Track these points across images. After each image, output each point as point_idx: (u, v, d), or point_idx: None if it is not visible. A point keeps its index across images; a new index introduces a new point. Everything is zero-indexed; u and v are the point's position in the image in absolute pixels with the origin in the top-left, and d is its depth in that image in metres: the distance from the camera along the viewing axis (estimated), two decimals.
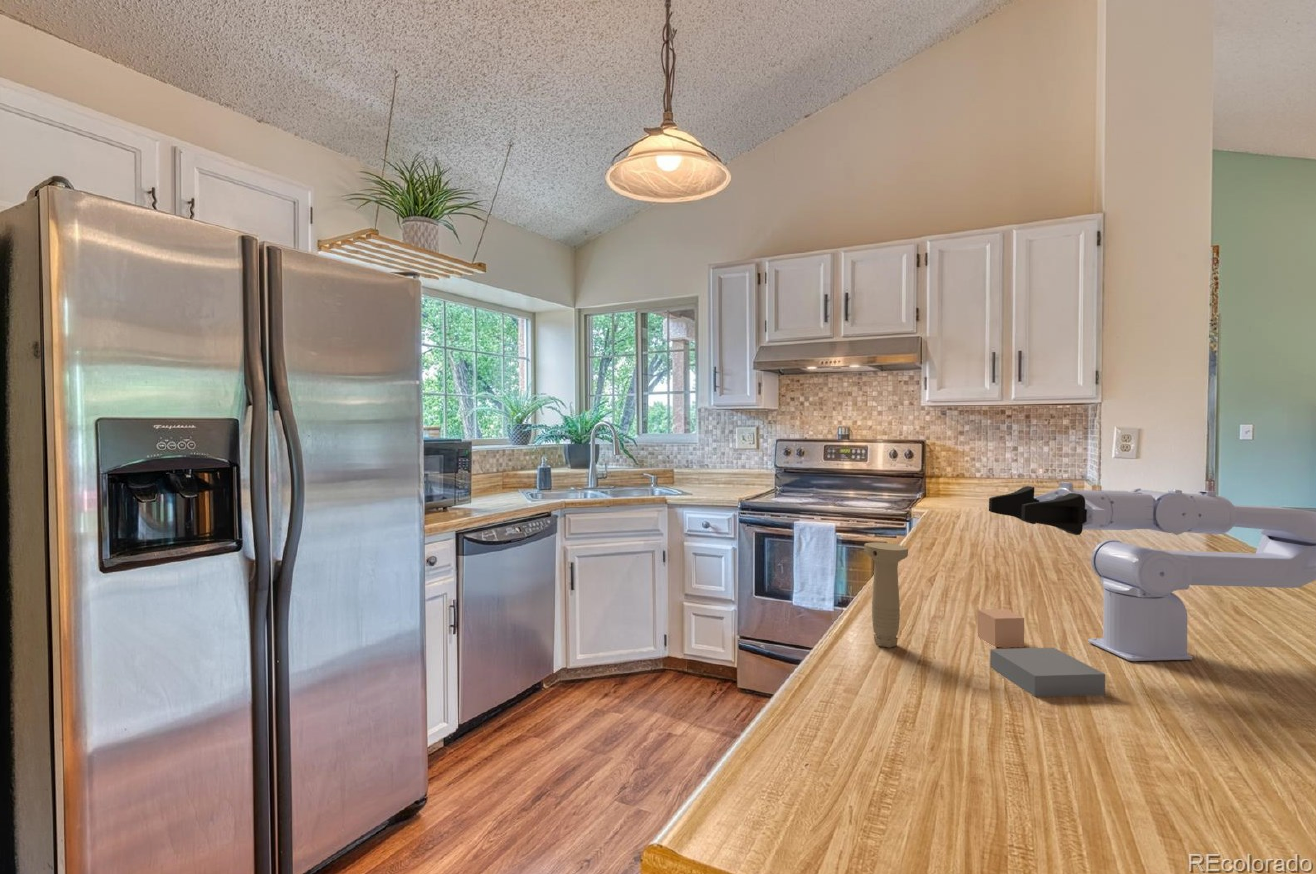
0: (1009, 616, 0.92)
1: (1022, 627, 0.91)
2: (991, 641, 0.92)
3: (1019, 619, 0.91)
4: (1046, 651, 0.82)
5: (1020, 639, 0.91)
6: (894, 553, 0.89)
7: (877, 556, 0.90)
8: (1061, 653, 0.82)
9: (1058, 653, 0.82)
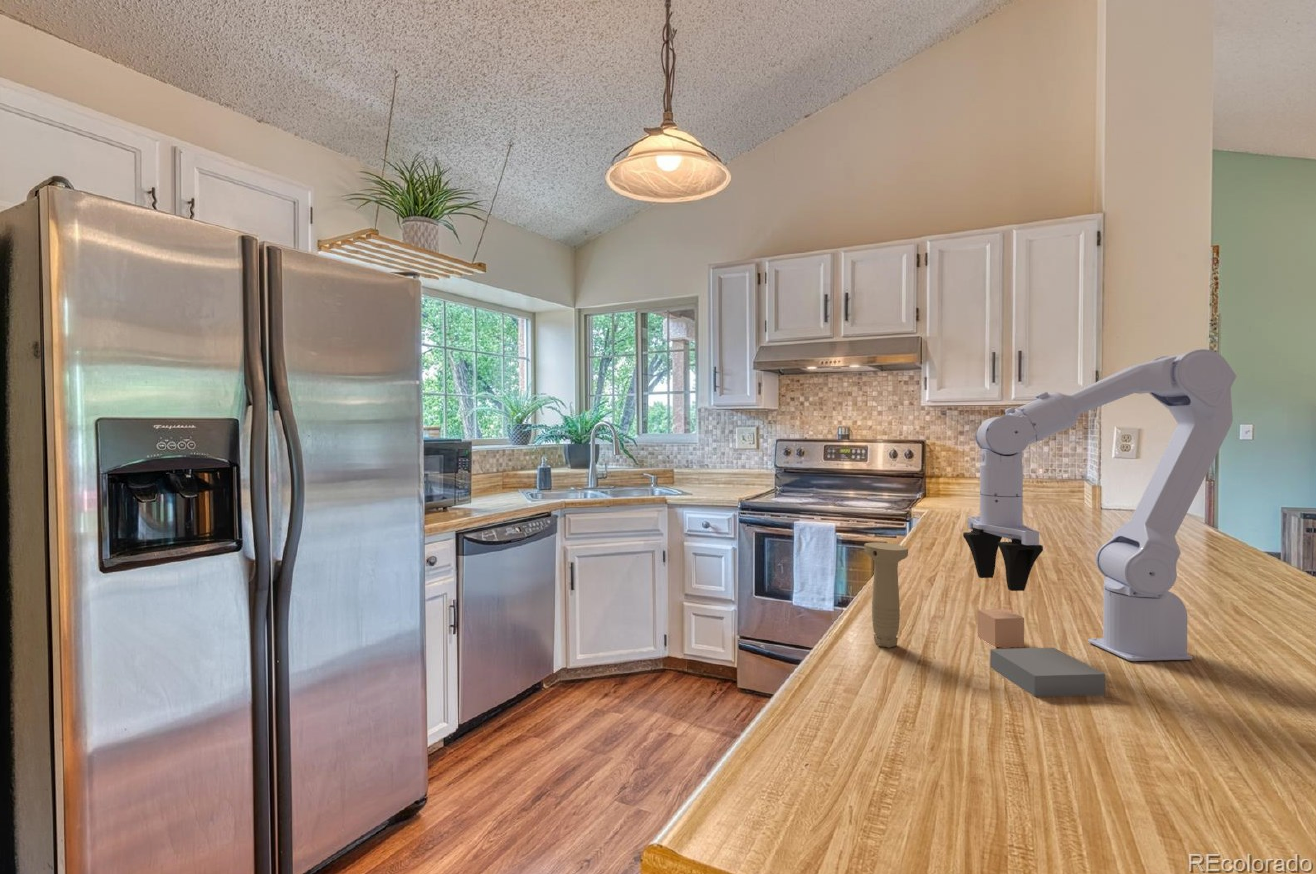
0: (1009, 616, 0.92)
1: (1022, 627, 0.91)
2: (991, 641, 0.92)
3: (1019, 619, 0.91)
4: (1046, 651, 0.82)
5: (1020, 639, 0.91)
6: (894, 553, 0.89)
7: (877, 556, 0.90)
8: (1061, 653, 0.82)
9: (1058, 653, 0.82)
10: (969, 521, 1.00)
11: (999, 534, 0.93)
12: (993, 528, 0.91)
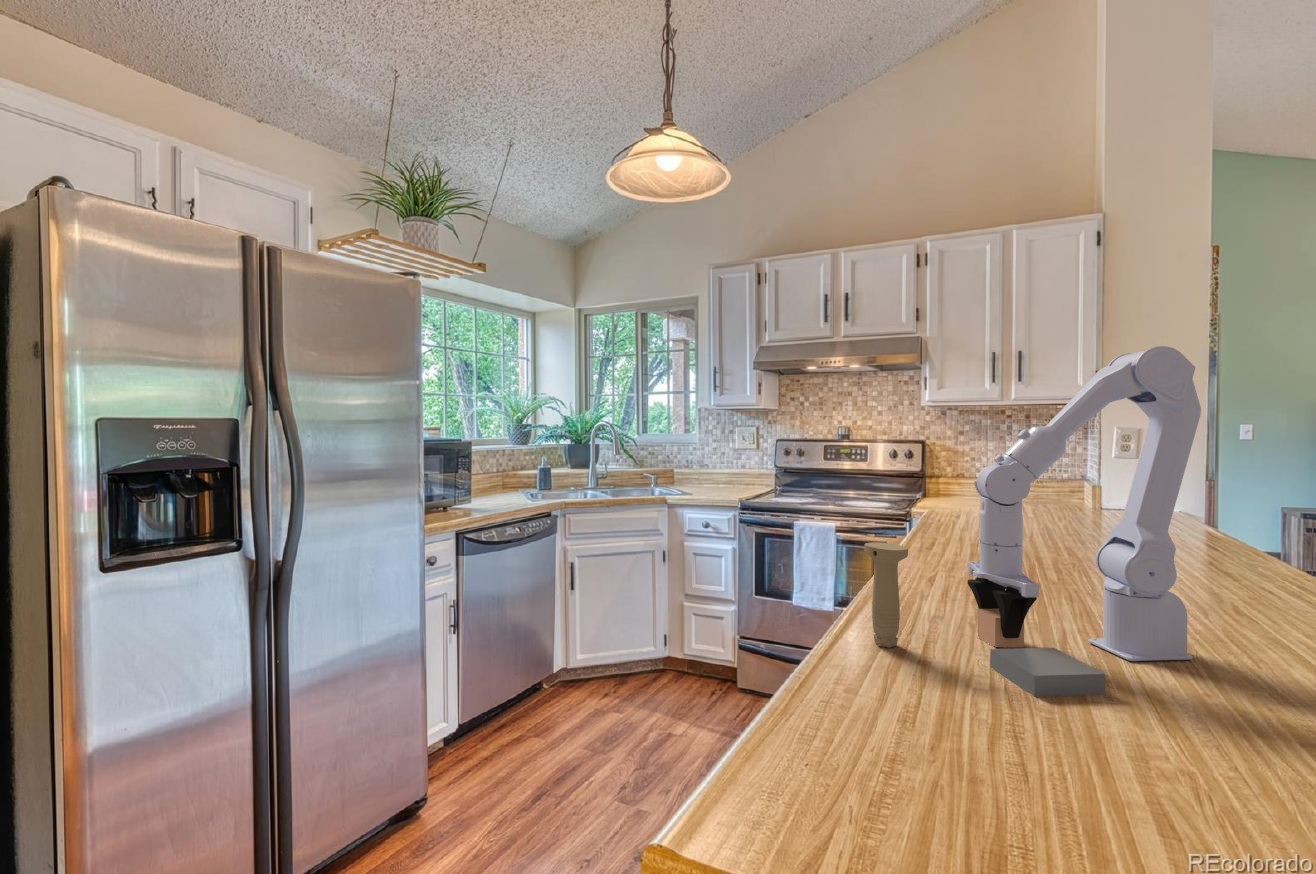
0: None
1: (1022, 626, 0.91)
2: (991, 640, 0.92)
3: None
4: (1046, 651, 0.82)
5: (1020, 638, 0.91)
6: (894, 553, 0.89)
7: (877, 556, 0.90)
8: (1061, 653, 0.82)
9: (1058, 653, 0.82)
10: (969, 566, 1.00)
11: (999, 582, 0.93)
12: (993, 577, 0.91)
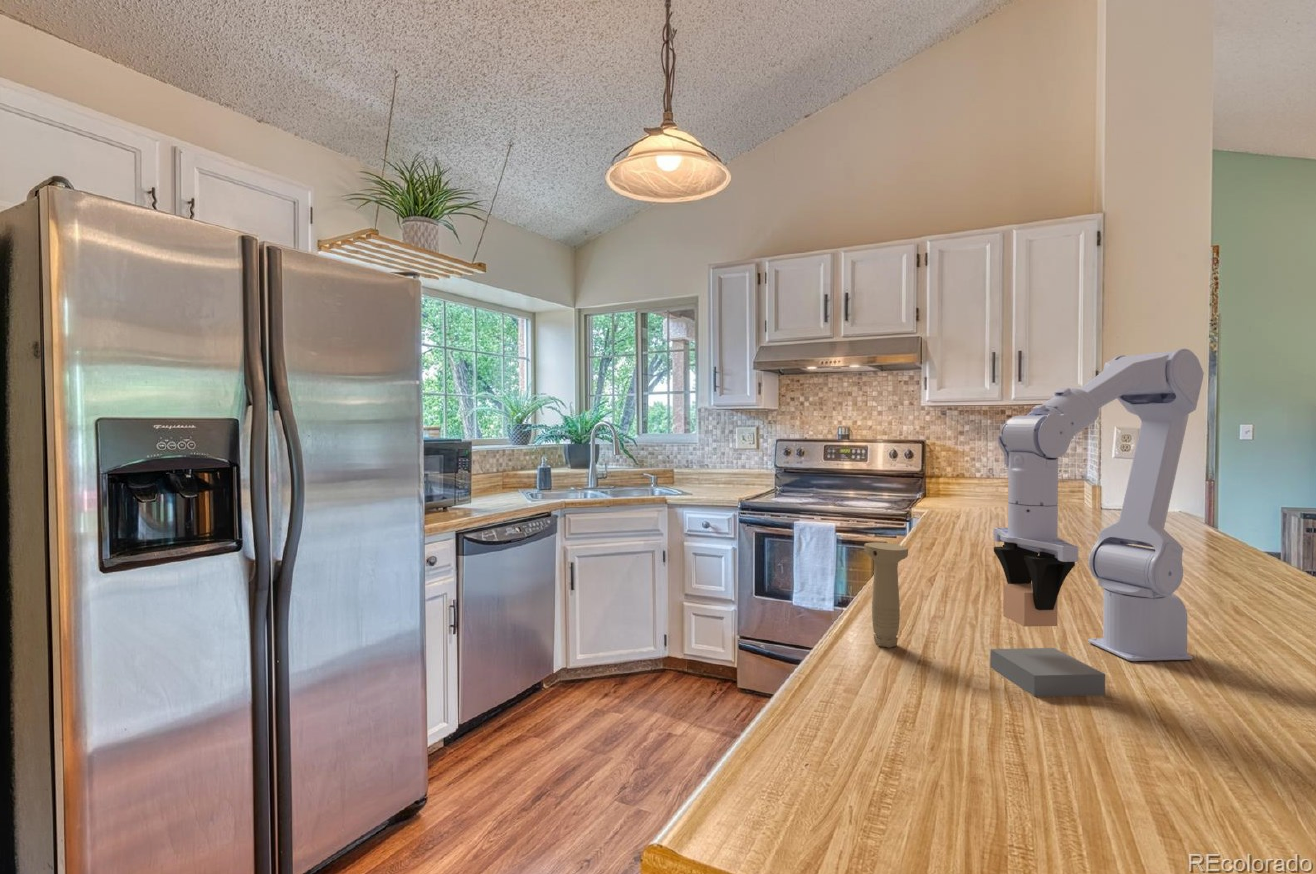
0: None
1: None
2: (1020, 618, 0.81)
3: None
4: (1046, 651, 0.82)
5: (1053, 616, 0.80)
6: (894, 553, 0.89)
7: (877, 556, 0.90)
8: (1061, 653, 0.82)
9: (1058, 653, 0.82)
10: (995, 532, 0.89)
11: (1030, 548, 0.82)
12: (1024, 541, 0.80)
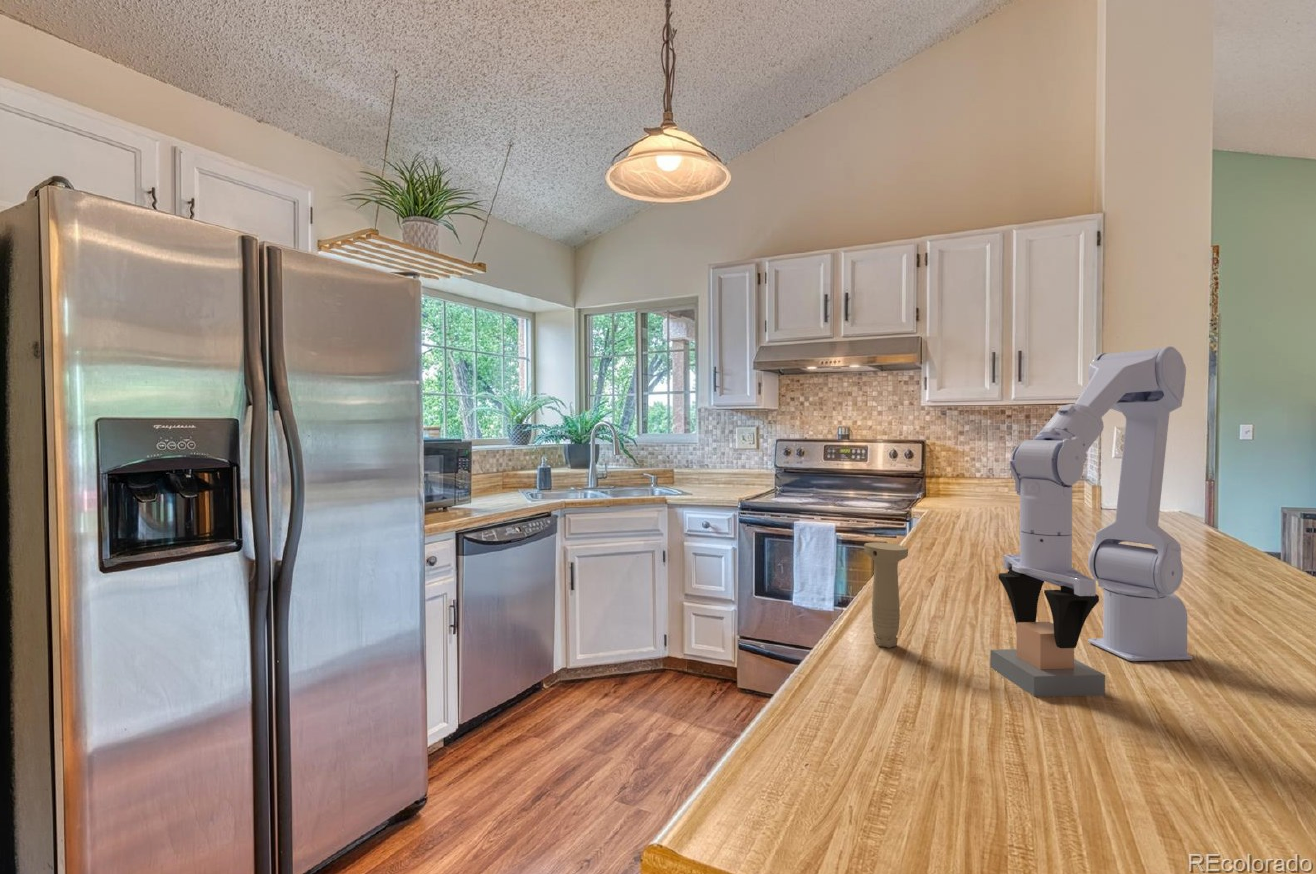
0: None
1: None
2: (1035, 660, 0.77)
3: None
4: None
5: (1069, 658, 0.77)
6: (894, 553, 0.89)
7: (877, 556, 0.90)
8: None
9: None
10: (1005, 560, 0.85)
11: (1043, 578, 0.79)
12: (1037, 573, 0.77)
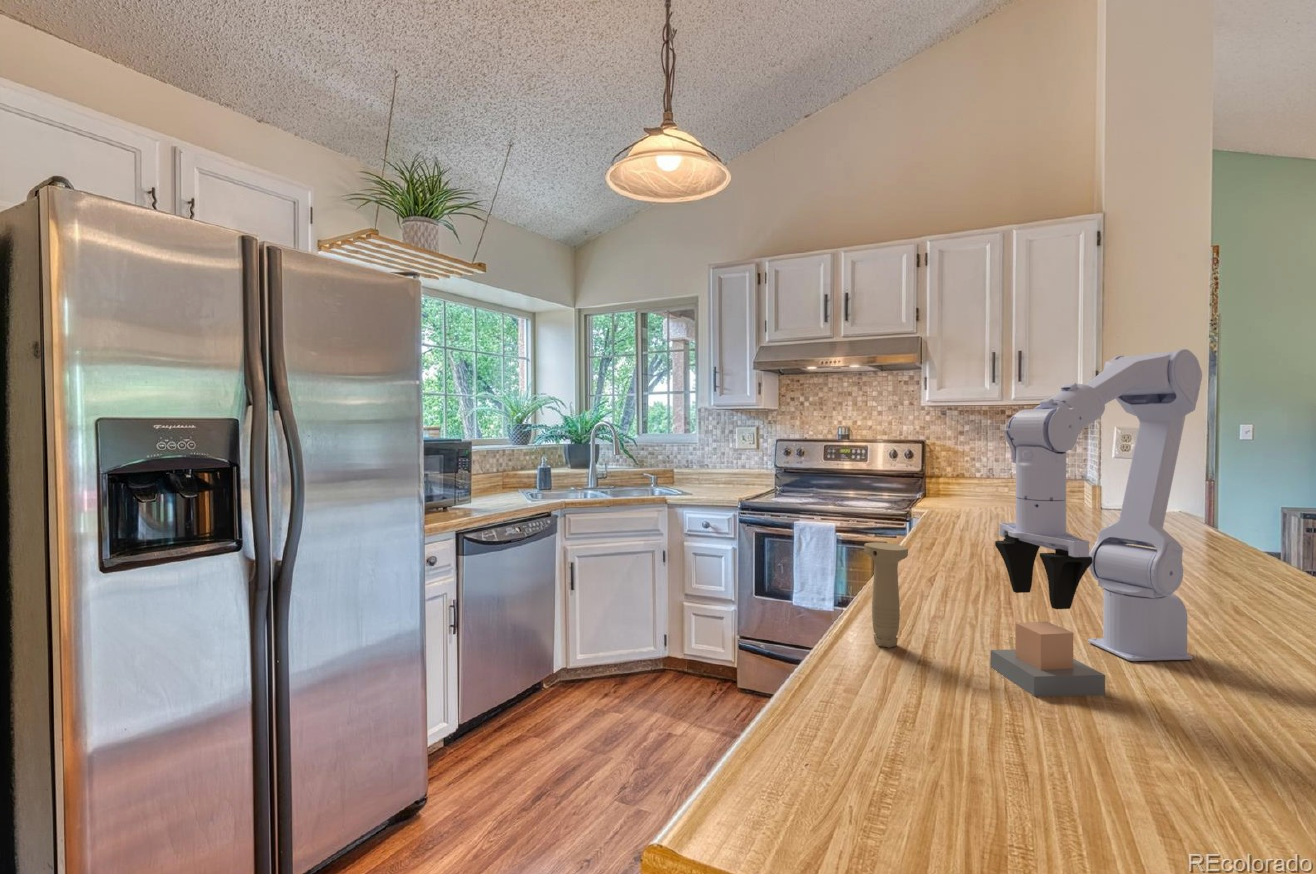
0: (1055, 631, 0.78)
1: (1071, 643, 0.77)
2: (1035, 661, 0.77)
3: (1068, 634, 0.77)
4: None
5: (1069, 658, 0.77)
6: (894, 553, 0.89)
7: (877, 556, 0.90)
8: None
9: None
10: (1001, 528, 0.88)
11: (1039, 543, 0.81)
12: (1033, 537, 0.79)
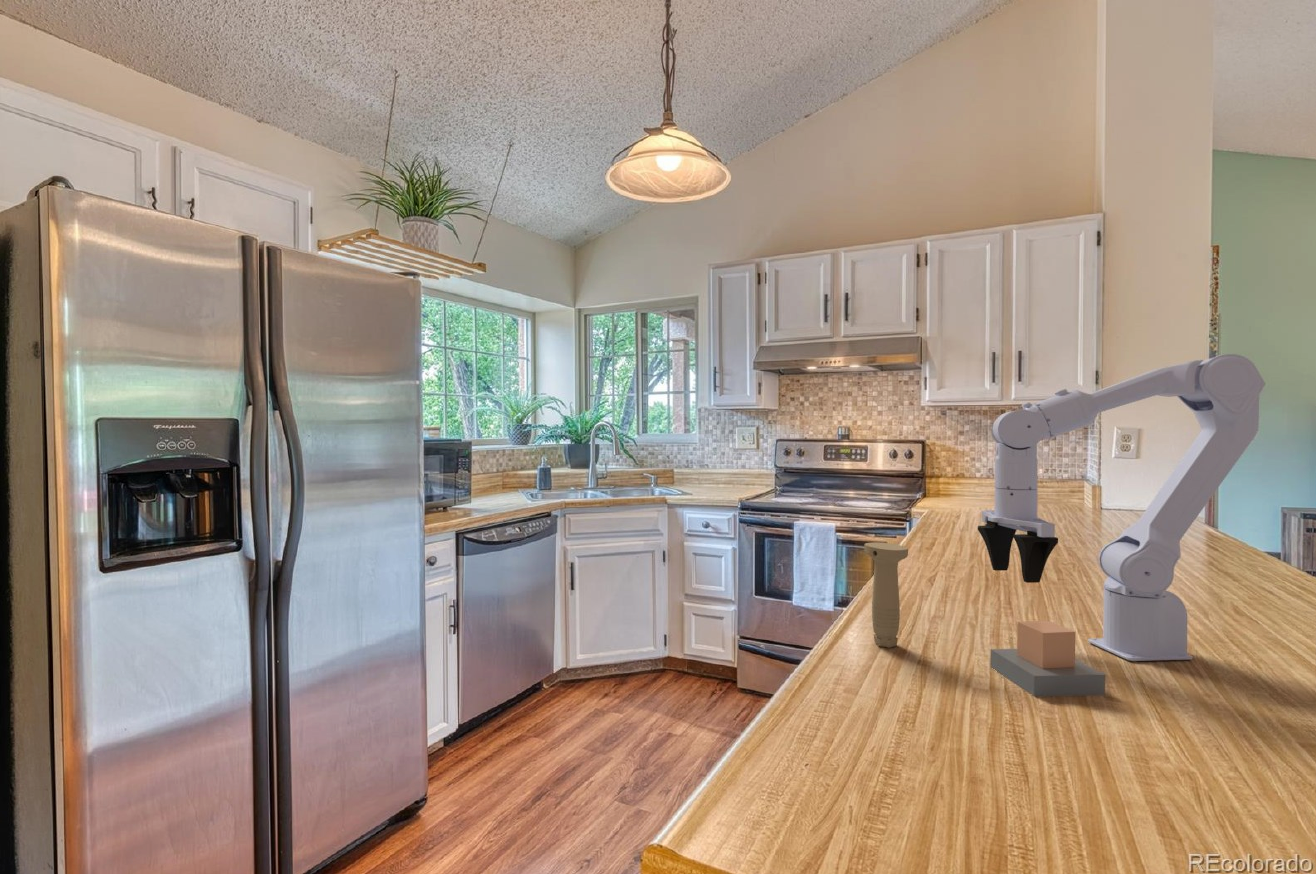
0: (1057, 629, 0.78)
1: (1073, 642, 0.77)
2: (1037, 659, 0.77)
3: (1070, 633, 0.77)
4: None
5: (1071, 657, 0.77)
6: (894, 553, 0.89)
7: (877, 556, 0.90)
8: None
9: None
10: (983, 514, 1.01)
11: (1014, 527, 0.94)
12: (1008, 521, 0.92)
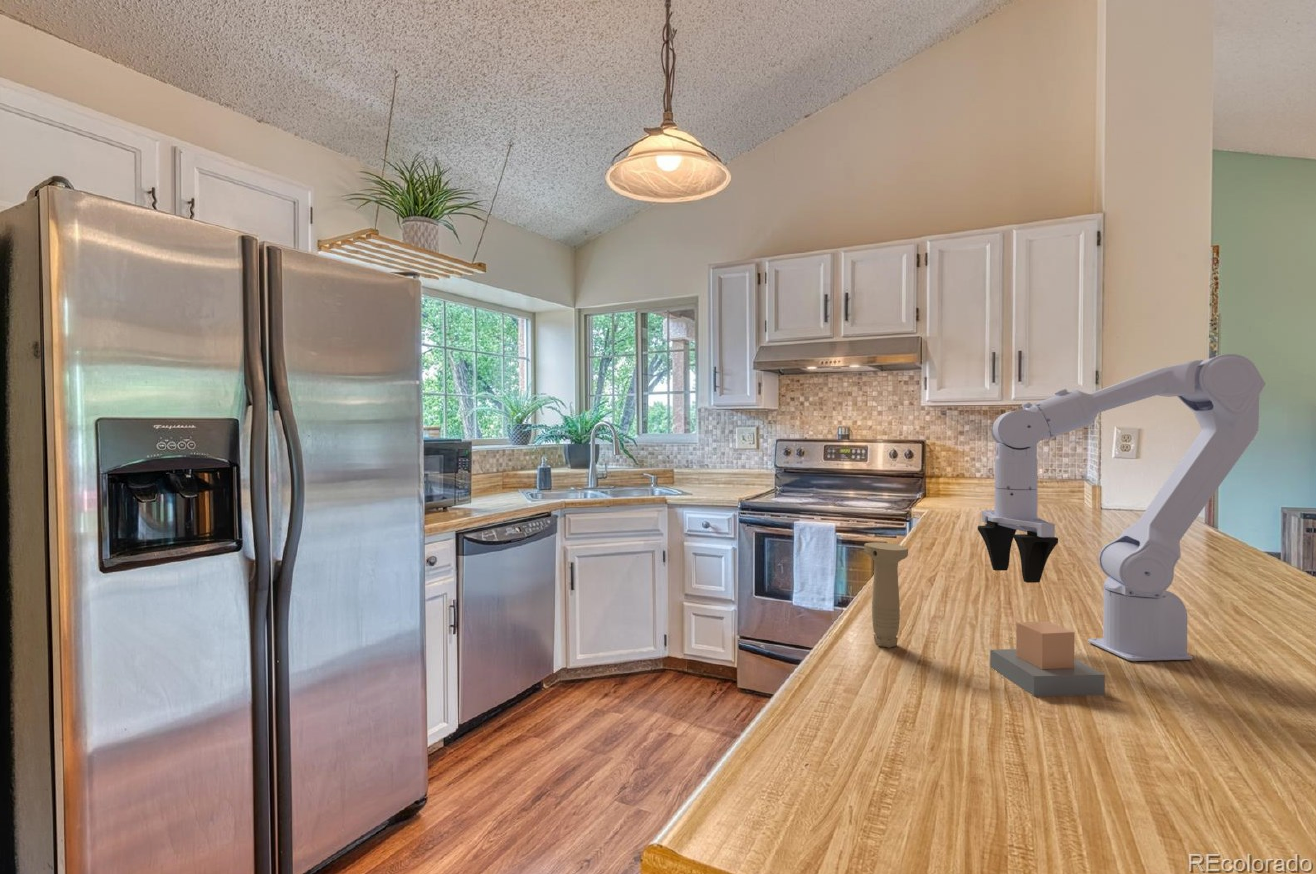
0: (1056, 630, 0.78)
1: (1072, 643, 0.77)
2: (1036, 660, 0.77)
3: (1069, 634, 0.77)
4: None
5: (1070, 657, 0.77)
6: (894, 553, 0.89)
7: (877, 556, 0.90)
8: None
9: None
10: (983, 514, 1.01)
11: (1014, 527, 0.94)
12: (1008, 521, 0.92)
